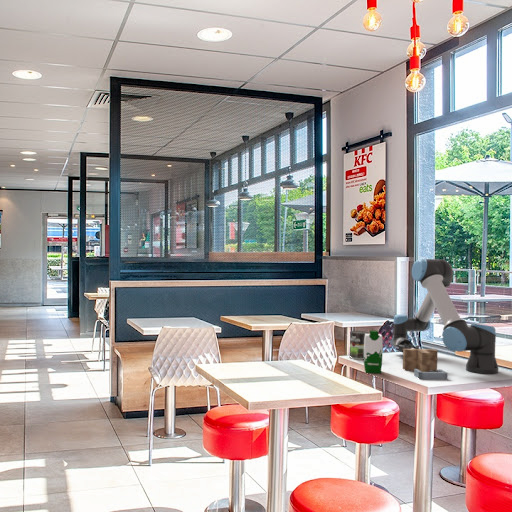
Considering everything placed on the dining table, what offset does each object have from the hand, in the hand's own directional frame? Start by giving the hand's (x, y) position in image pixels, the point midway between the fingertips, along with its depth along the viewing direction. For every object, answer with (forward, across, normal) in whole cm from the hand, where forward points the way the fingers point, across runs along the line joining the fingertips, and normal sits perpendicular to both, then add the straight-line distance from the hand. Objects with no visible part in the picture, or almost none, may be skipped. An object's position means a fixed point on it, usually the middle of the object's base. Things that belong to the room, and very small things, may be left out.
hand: (415, 352), depth 313 cm
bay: (+26, 0, -7) cm, 27 cm away
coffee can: (-22, +25, -7) cm, 34 cm away
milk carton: (+16, +25, -7) cm, 31 cm away
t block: (+12, 0, -7) cm, 14 cm away
